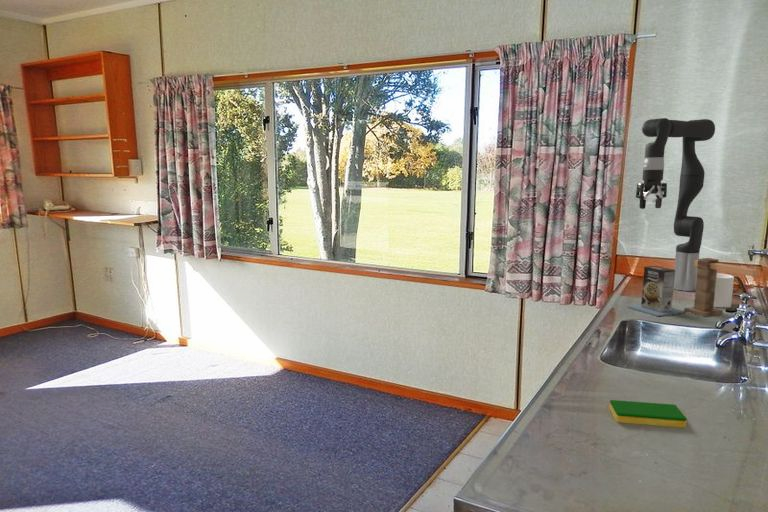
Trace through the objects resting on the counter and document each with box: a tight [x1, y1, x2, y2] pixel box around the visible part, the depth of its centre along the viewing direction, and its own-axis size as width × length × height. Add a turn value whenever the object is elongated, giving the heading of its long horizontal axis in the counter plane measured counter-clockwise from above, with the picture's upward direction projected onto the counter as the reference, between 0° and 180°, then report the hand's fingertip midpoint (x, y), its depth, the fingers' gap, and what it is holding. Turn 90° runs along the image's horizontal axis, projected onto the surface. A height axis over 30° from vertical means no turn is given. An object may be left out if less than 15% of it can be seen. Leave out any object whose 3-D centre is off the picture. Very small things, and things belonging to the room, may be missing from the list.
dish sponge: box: [609, 399, 688, 429], centre depth 114 cm, size 7×14×2 cm, turn 79°
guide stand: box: [683, 257, 723, 317], centre depth 196 cm, size 10×8×21 cm
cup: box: [713, 272, 735, 309], centre depth 208 cm, size 12×12×12 cm
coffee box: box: [640, 265, 675, 312], centre depth 199 cm, size 9×6×16 cm
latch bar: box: [694, 260, 760, 277], centre depth 188 cm, size 3×22×2 cm, turn 21°
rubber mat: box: [627, 304, 686, 318], centre depth 201 cm, size 14×14×1 cm
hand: (650, 208), depth 214 cm, fingers open, 8 cm apart
